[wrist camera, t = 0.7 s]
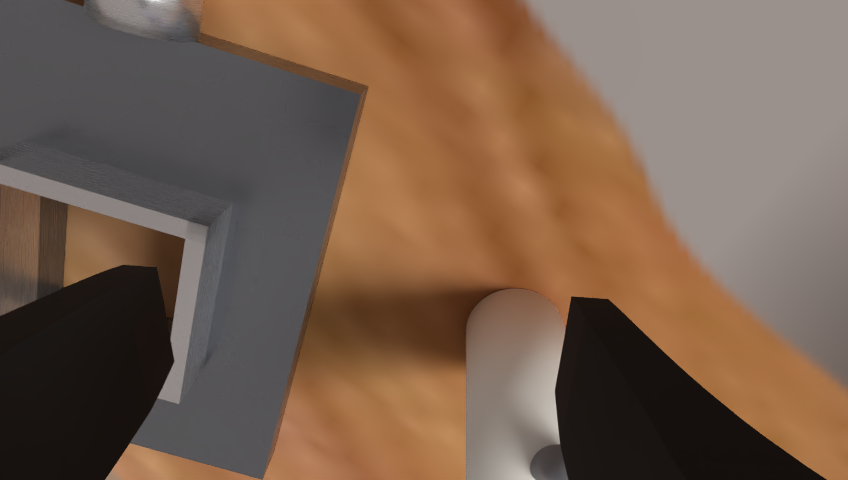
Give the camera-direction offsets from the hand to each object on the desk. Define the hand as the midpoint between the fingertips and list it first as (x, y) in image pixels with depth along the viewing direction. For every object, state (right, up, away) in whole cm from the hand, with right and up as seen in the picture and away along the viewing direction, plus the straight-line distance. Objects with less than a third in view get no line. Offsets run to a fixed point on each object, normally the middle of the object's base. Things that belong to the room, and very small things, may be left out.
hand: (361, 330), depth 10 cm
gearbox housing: (-9, +1, +11) cm, 15 cm away
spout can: (+4, -2, +12) cm, 13 cm away
